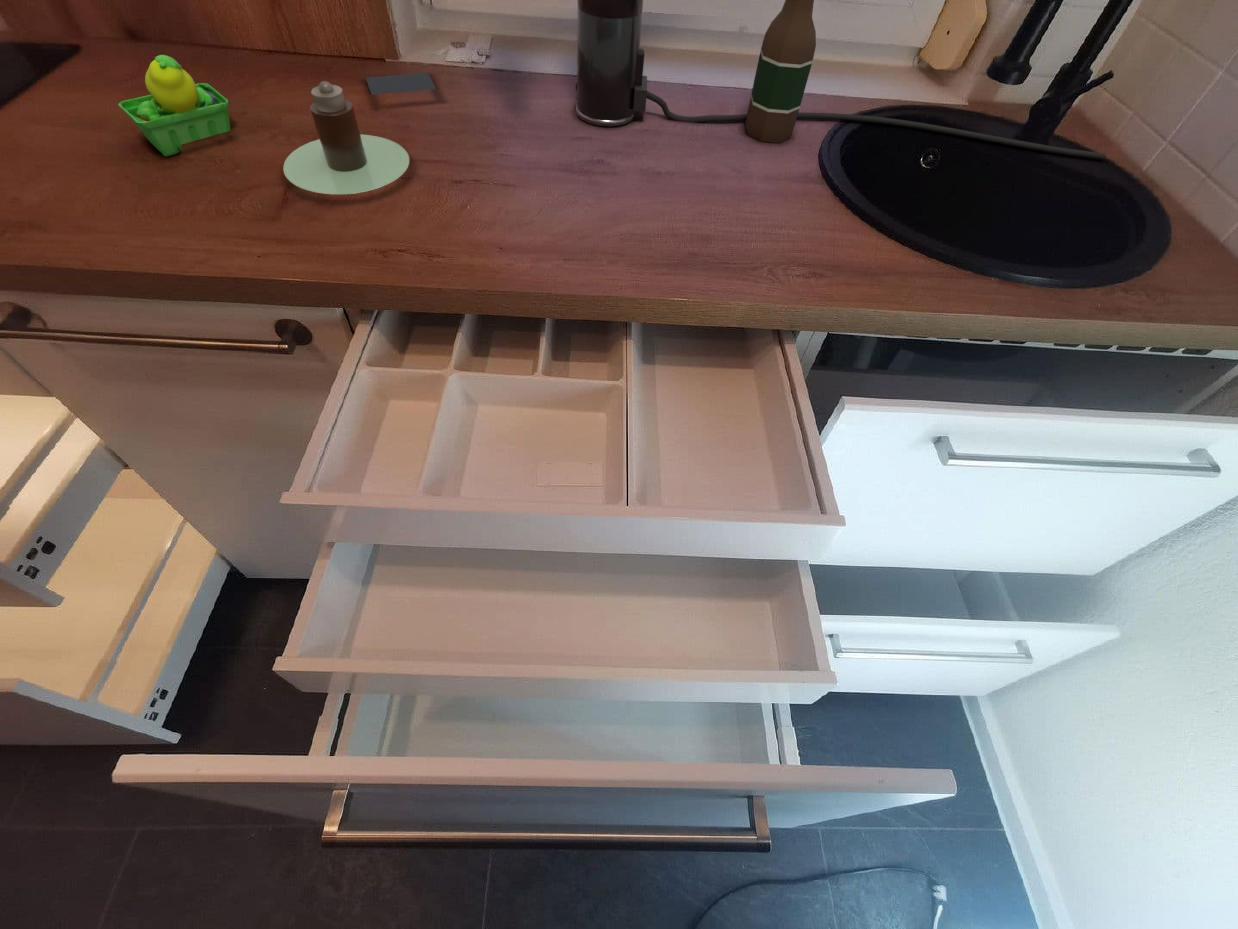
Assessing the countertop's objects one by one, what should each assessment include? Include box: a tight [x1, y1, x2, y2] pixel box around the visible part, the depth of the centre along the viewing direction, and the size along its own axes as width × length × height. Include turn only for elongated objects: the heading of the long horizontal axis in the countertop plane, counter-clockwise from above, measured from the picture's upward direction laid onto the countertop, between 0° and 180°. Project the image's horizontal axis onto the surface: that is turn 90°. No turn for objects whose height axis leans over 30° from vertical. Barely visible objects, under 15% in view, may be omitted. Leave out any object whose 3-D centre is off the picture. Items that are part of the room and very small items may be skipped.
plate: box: [282, 133, 410, 195], centre depth 83 cm, size 16×16×1 cm
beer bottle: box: [745, 0, 817, 144], centre depth 88 cm, size 8×8×24 cm
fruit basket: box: [118, 54, 232, 157], centre depth 81 cm, size 11×9×11 cm
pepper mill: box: [309, 80, 367, 172], centre depth 78 cm, size 5×5×10 cm
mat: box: [365, 72, 437, 96], centre depth 98 cm, size 10×10×1 cm
